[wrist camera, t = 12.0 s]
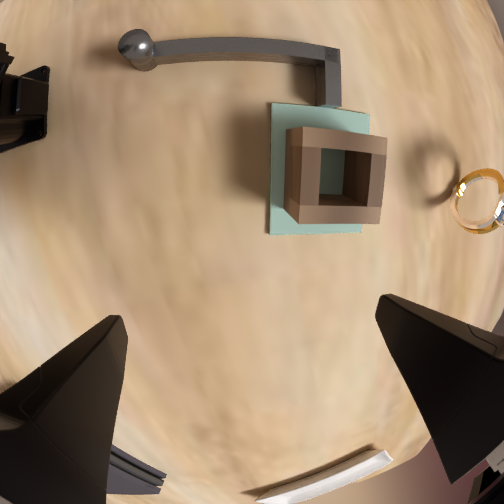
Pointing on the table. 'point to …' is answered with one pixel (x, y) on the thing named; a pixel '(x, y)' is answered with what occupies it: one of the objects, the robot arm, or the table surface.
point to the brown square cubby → (354, 181)
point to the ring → (499, 215)
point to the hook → (239, 56)
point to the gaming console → (131, 475)
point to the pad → (330, 162)
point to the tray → (328, 479)
